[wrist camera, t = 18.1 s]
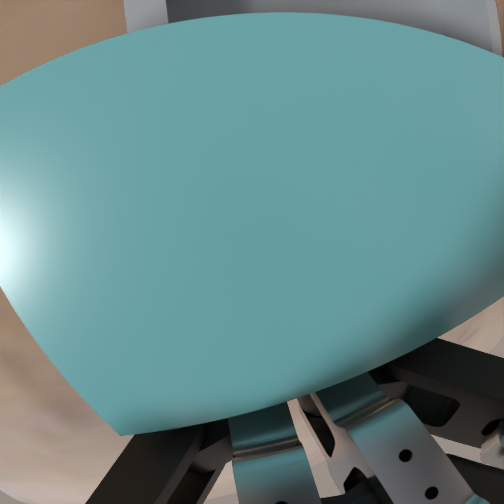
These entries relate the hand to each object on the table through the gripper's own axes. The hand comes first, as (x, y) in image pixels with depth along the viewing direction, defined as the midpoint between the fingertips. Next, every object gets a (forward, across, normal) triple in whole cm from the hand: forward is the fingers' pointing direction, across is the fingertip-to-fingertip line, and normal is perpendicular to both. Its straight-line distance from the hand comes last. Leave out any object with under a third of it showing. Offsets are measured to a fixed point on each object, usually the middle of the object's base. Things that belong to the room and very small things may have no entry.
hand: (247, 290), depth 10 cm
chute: (+2, -4, -17) cm, 17 cm away
